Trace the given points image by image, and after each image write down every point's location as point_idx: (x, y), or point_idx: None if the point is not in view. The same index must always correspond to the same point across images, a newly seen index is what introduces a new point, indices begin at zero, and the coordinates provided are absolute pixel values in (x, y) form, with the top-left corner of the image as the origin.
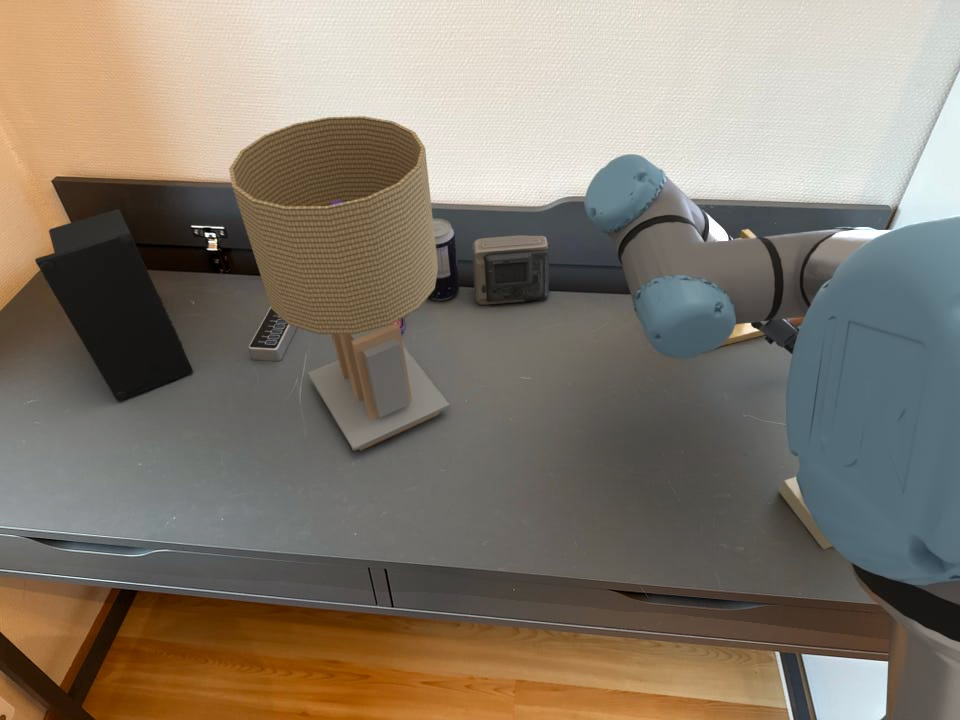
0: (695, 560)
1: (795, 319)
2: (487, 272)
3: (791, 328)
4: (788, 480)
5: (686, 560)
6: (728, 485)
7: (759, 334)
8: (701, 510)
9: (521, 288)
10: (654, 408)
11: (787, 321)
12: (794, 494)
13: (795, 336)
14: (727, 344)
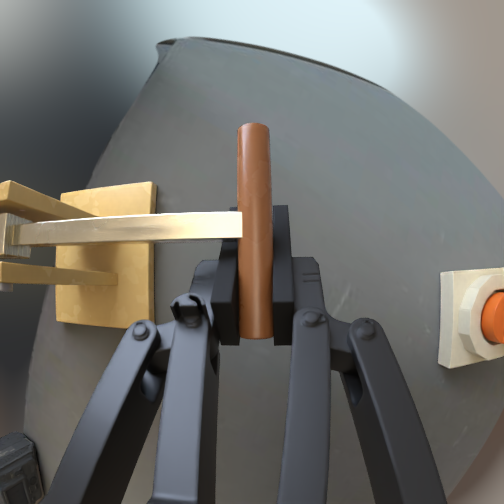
0: (452, 469)
1: (264, 249)
2: None
3: (402, 381)
4: (452, 363)
5: (448, 476)
6: None
7: None
8: None
9: (28, 479)
10: (249, 452)
11: (314, 326)
12: (467, 364)
13: (320, 284)
14: (153, 280)
